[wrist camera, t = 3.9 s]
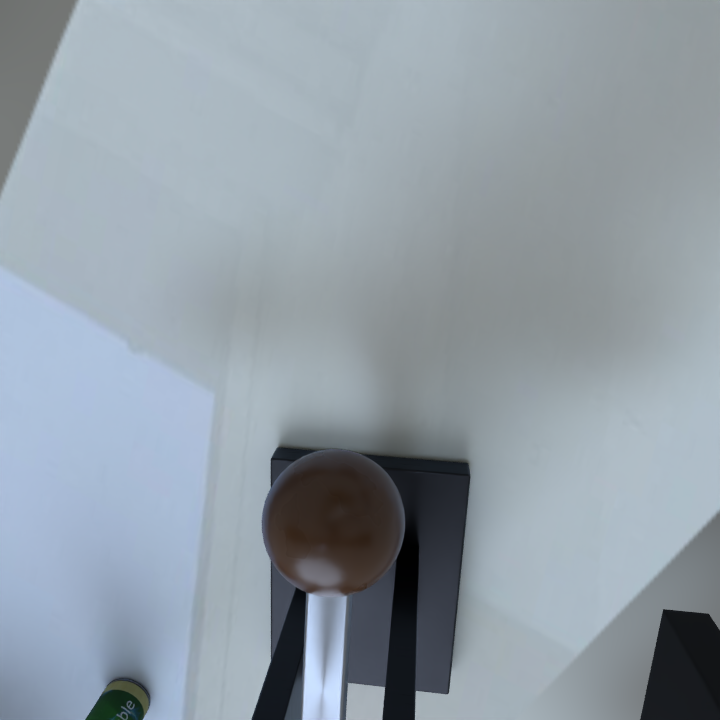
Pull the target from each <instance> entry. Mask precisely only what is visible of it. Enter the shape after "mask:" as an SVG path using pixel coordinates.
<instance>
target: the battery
mask: <svg viewBox="0 0 720 720" xmlns="http://www.w3.org/2000/svg"><path fill="white" fill-rule="evenodd" d="M149 705H150V699H149V696H148V693H147V692H146V690H145V689H144V688H143V687H142V686H141V685H140V684H138V683H136V682H134V681H132V680H128V679H117V680H114V681H112V682H111V683H110V684H109V685H108V686H107V687H106V688H105V690H104V692H103V693H102V695H101V696H100V698H99V699H98V701H97V702H96V704H95V706H94V707H93V709H92V710H91V712H90V713H89V715H88V716H87V718H86V719H85V720H143V718H144V716H145V714H146V713H147V711H148V709H149Z"/></svg>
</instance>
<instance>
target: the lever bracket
mask: <svg viewBox="0 0 720 720" xmlns="http://www.w3.org/2000/svg"><path fill="white" fill-rule="evenodd" d="M313 452H317V451H314V450H302V449H290V448H277V449H276V451H275V453H274V454H273V456H272V458H271V487H272V485H273V484H274V482H275V480H276V479H277V478H278V476H279V475H280V474H281V473H282V472H283V471H284V470H285V469H286V468H287V467H288V466H289V465H291V464H292V463H293V462H295V461H296V460H298V459H299V458H301V457H303V456H305V455H308V454H310V453H313ZM361 455H363V454H361ZM363 456H366V457H367V458H369V459H371V460H372V461H374V462H375V463H377V464H378V465H379V466H380V467H381V468H382V469H383V470H384V471H385V472H386V473H387V474H388V475H389V476H390V478H391V479H392V480H393V482H394V484H395V485H396V487H397V489H398V491H399V494H400V496H401V499H402V502H403V506H404V513H405V533H404V539H403V542H402V546H401V549H400V552H399V554H398V556H397V558H396V560H395V561H394V563H393V565H392V566H391V568H390V569H389V570H388V571H387V573H386V574H385V575H384V576H383V577H382V578H381V579H380V580H379V581H377V582H376V583H375V584H373V585H372V586H370V587H369V588H367V589H365V590H363V591H361V592H359V593H356V594H353V600H352V617H351V635H350V652H349V670H348V683H356V684H364V685H373V686H381V687H385V696H384V708H383V719H382V720H415V694H416V691H424V692H432V693H441V694H448V693H449V687H450V677H451V667H452V657H453V646H454V636H455V626H456V616H457V606H458V596H459V586H460V576H461V566H462V555H463V545H464V535H465V525H466V515H467V505H468V495H469V485H470V470H469V465H468V463H460V462H447V461H435V460H423V459H411V458H399V457H387V456H375V455H363ZM305 611H306V592H305V591H302V590H300V589H299V588H297V587H295V586H294V585H292V584H291V583H290V582H288V581H287V580H286V579H285V578H284V577H283V576H282V575H281V574H280V572H279V571H278V570H277V569H276V567H275V566H274V564H273V563H272V561H271V663H270V666H269V669H268V672H267V675H266V678H265V681H264V684H263V687H262V690H261V693H260V696H259V699H258V702H257V705H256V708H255V711H254V714H253V717H252V720H300V718H301V696H302V675H303V654H304V632H305Z"/></svg>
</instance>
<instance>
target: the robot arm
mask: <svg viewBox="0 0 720 720" xmlns="http://www.w3.org/2000/svg"><path fill="white" fill-rule="evenodd" d="M640 720H720V630H719V629H718V627H717V626H716V624H715V623H714V621H713V620H712V618H711V617H710V615H709V614H704V613H695V612H685V611H674V610H665V609H664V610H663V614H662V618H661V623H660V628H659V632H658V637H657V642H656V647H655V652H654V657H653V661H652V666H651V672H650V676H649V681H648V685H647V690H646V695H645V701H644V705H643V710H642V714H641V719H640Z"/></svg>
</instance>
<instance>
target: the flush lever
mask: <svg viewBox="0 0 720 720" xmlns="http://www.w3.org/2000/svg"><path fill="white" fill-rule="evenodd" d="M262 533H263V539H264V544H265V547H266V551H267V553H268V555H269V557H270V559H271V561H272V563H273V564H274V566H275V567H276V569H277V570H278V571H279V572H280V574H281V575H282V576H283V577H284V578H285V579H286V580H287V581H288V582H290V583H291V584H292V585H294V586H295V587H297V588H299V589H300V590H302V591H305V592H306V611H305V632H304V654H303V675H302V696H301V718H300V720H346V705H347V687H348V670H349V652H350V635H351V617H352V600H353V594H356V593H359V592H361V591H363V590H365V589H367V588H369V587H370V586H372V585H373V584H375V583H376V582H377V581H379V580H380V579H381V578H382V577H383V576H384V575H385V574H386V573H387V571H388V570H389V569H390V568H391V566H392V565H393V563H394V561H395V560H396V558H397V556H398V554H399V552H400V549H401V546H402V542H403V539H404V533H405V513H404V506H403V502H402V499H401V496H400V494H399V491H398V489H397V487H396V485H395V484H394V482H393V480H392V479H391V478H390V476H389V475H388V474H387V473H386V472H385V471H384V470H383V469H382V468H381V467H380V466H379V465H378V464H377V463H375V462H374V461H372V460H371V459H369V458H367V457H366V456H363V455H361V454H359V453H356V452H352V451H348V450H342V449H328V450H321V451H317V452H313V453H310V454H308V455H305V456H303V457H301V458H299V459H298V460H296V461H295V462H293V463H292V464H291V465H289V466H288V467H287V468H286V469H285V470H284V471H283V472H282V473H281V474H280V475H279V476H278V478H277V479H276V480H275V482H274V484H273V485H272V487H271V489H270V491H269V493H268V495H267V498H266V500H265V504H264V508H263V515H262Z"/></svg>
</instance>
